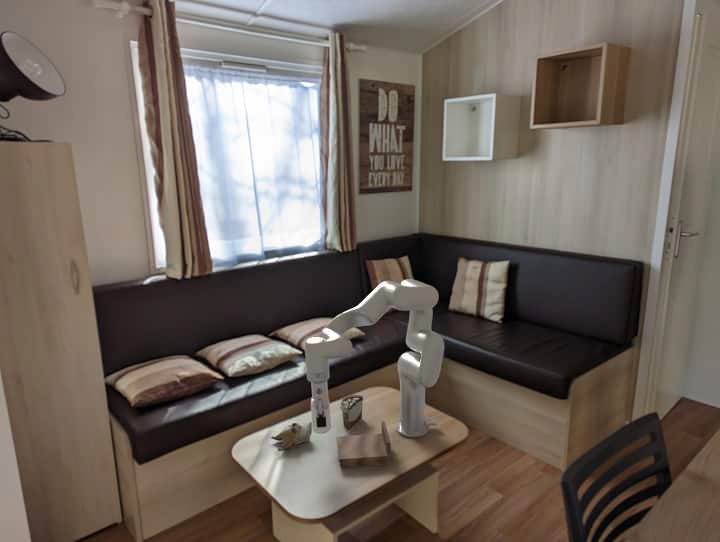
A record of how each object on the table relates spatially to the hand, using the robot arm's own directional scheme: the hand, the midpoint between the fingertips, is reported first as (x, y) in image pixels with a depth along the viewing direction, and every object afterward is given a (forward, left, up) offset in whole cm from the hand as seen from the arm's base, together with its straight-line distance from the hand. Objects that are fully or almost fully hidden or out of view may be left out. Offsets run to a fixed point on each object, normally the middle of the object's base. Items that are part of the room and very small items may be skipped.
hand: (321, 420), depth 175 cm
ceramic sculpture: (+11, -12, -16) cm, 23 cm away
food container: (-11, -25, -16) cm, 32 cm away
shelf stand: (-14, -2, -16) cm, 22 cm away
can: (0, 0, -3) cm, 3 cm away
